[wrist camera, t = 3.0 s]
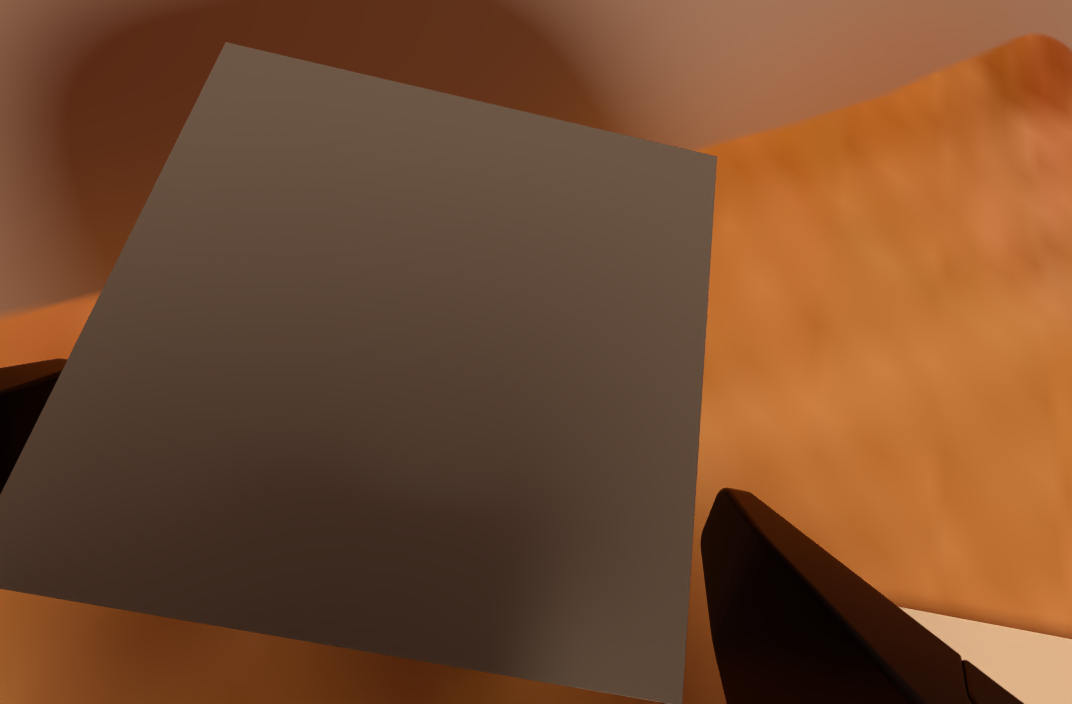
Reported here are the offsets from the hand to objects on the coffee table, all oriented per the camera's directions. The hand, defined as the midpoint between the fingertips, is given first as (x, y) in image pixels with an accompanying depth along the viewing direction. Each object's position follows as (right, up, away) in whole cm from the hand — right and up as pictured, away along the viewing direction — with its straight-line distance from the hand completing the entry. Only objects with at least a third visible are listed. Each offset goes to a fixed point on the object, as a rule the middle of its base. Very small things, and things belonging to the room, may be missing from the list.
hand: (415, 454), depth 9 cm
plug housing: (-1, -3, +8) cm, 8 cm away
